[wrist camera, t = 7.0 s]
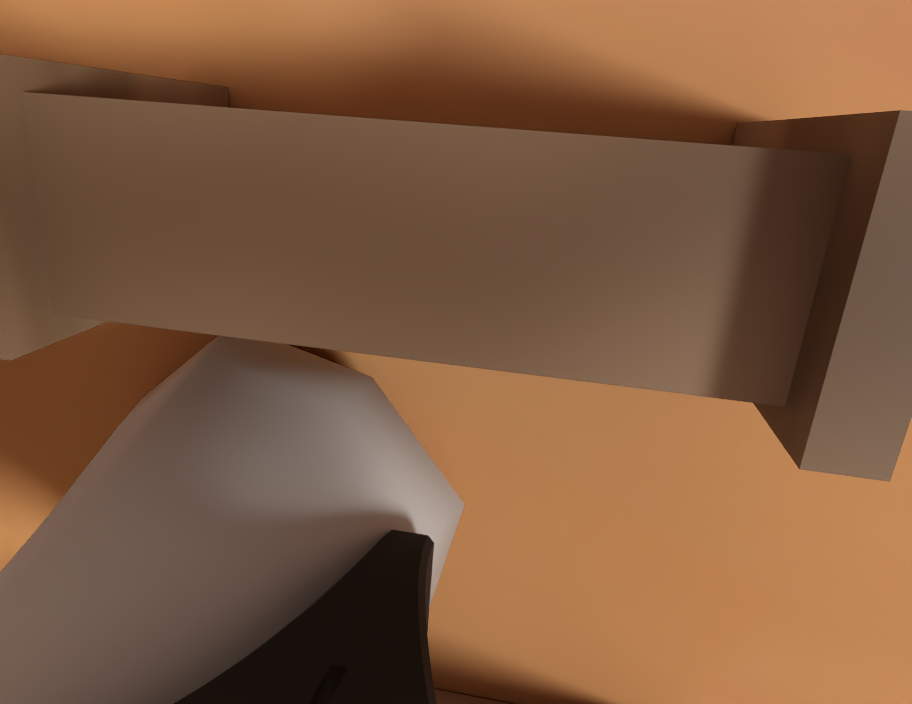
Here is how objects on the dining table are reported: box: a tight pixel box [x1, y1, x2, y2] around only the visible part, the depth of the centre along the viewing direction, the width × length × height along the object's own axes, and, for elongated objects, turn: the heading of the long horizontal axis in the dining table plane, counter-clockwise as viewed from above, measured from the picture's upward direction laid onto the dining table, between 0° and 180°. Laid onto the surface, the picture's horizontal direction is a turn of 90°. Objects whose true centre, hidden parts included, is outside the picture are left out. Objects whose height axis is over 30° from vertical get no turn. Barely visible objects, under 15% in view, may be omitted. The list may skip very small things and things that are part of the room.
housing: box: [0, 54, 912, 704], centre depth 11 cm, size 15×10×5 cm, turn 176°
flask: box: [0, 335, 464, 704], centre depth 8 cm, size 7×7×10 cm
